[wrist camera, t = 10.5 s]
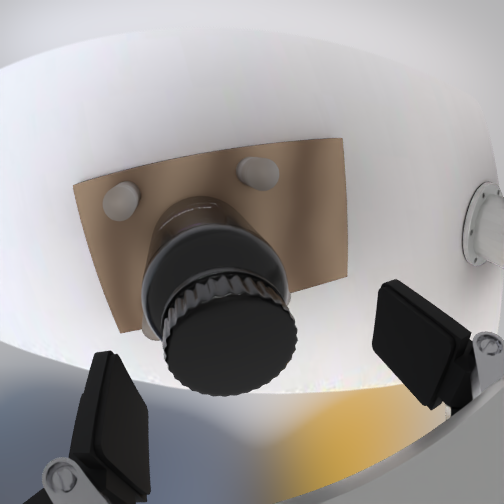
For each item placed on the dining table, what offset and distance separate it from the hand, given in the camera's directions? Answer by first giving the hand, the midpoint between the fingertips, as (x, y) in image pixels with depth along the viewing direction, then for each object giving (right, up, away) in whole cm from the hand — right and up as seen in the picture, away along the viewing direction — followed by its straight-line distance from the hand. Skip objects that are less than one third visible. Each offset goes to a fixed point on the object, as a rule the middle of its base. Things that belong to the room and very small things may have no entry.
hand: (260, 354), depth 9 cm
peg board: (-2, +5, +13) cm, 14 cm away
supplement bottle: (-4, +4, +11) cm, 13 cm away
